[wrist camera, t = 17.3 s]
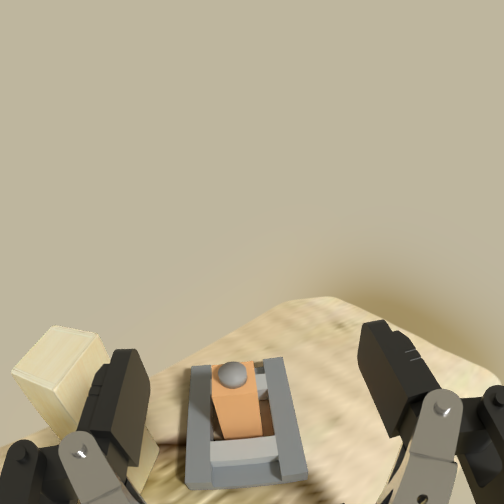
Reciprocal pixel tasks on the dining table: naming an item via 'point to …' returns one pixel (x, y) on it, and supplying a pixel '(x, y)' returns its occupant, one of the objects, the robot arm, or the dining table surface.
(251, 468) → the frame
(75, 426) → the pale yellow tall block
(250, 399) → the orange block with knob
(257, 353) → the dining table surface
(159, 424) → the dining table surface
